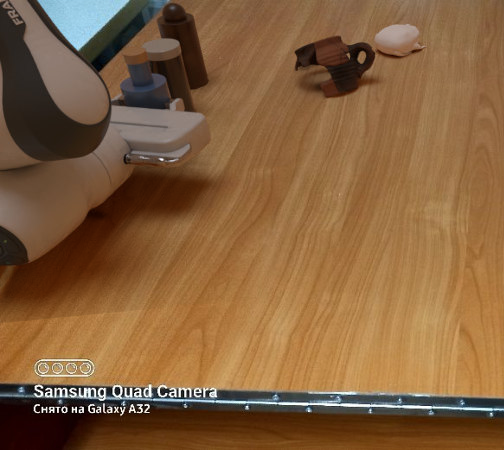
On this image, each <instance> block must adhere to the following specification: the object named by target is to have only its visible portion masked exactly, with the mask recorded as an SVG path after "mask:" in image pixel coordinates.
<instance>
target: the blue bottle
mask: <svg viewBox="0 0 504 450" xmlns="http://www.w3.org/2000/svg"><path fill="white" fill-rule="evenodd" d="M121 55H122V57H123V61H124V63H125V65H126V67H127V71H128V74H129V77H126V78H125V79H124V80H122V81H121V82H120V84H119V89H120V91H121V94H122V95H123V98H124V101H125V104H126V107H137V108H149V109H161V110H165V109H166V108H165V106H164V102H165V101H167V100H168V99H169V98H171V95H170V92H169V88H168V84H167V81H166V78H165V77H164V76H163V75H160V74H154V73H151V69H150V66H149V62H148V55H147V52H146V49H145V48H143V47H141V46H133V47H132V46H131V47H128V48H125V49H124V50H122V52H121Z"/></svg>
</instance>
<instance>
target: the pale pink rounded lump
mask: <svg viewBox="0 0 504 450" xmlns="http://www.w3.org/2000/svg"><path fill="white" fill-rule="evenodd" d="M420 37H421V32H420V31H419V29H418V27H417V26H416V25H411V24H410V23H406V24H391V25H388V26H385V27H384V28H382V29H381V30H379V32H377V33H376V34H375V36H374V40H373V41H374V47H375V48H376V49H377V50H378V51H380V52H381V53H384V54H385V55H393V56H397V57H405V56H408V55H412V52H413V51H414V50H423V49H425V48H426V47H427V45H420V44H419V40H420Z"/></svg>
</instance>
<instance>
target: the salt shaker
mask: <svg viewBox="0 0 504 450" xmlns="http://www.w3.org/2000/svg"><path fill="white" fill-rule="evenodd" d="M140 47H143V48H145V49H146V52H147V55H148V62H149V66H150V69H151V73H154V74H160V75H163V76H164V77H165V78H166V81H167V84H168V88H169V92H170V95H171V98H179V99H182V100H183V103H184V107H185V110H184V112H196V107H195V102H194V98H193V95H192V89H190V86H189V82H188V78H187V74H186V70H185V66H184V62H183V58H182V54H181V47H180V43H179V41H177V40H175V39H161V38H157V39H152V40H149V41H147V42H144V43H143V44H141V46H140ZM196 113H197V112H196Z"/></svg>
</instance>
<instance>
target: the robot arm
mask: <svg viewBox="0 0 504 450" xmlns="http://www.w3.org/2000/svg"><path fill="white" fill-rule="evenodd" d="M164 106H165V108H166V109H165V110H161V109H149V108H137V107H126V104H125V101H124V98H123V95H122V93H118V94H117V95H116V96H115V97H113V98H112V97H111V94H110V91H109V88H108V86H107V83H106V82H105V80H104V78H103V77H102V76H101V74H100V73H99V71H98V70H97V69H96V68H95V66H94V65H93V64H92V63H91V62H90V61H89V60H88V59H87V58H86V57H85V56H84V55H83V54H82V53H81V52H80V51H79V50H78V49H77V48H76V47H75V46H74V45H73V44H72V43H71V42H70V41H69V40H68V39H67V38H66V36H65V35H64V34H63V33H62V31H60V29H59V28H58V27H57V24H55V22H54V21H53V20H52V19H51V16H50V15H49V14H48V13H47V12H46V11H45V9H44V7H43V6H42V5H41V3H40V2H39V0H0V266H3V267H4V266H5V267H7V266H8V267H12V266H13V267H14V266H22V265H26V264H30V263H32V262H34V261H36V260H38V259H40V258H41V257H42V256H44V255H46V254H47V253H49V252H50V251H51V250H53V249H54V248H55V247H56V246H58V245H60V243H62V241H64V240H66V238H67V237H69V236H70V235H71V234H72V233H73V232H74V231H75V230H76V229H78V228H79V226H80V225H81V224H82V223H84V221H85V219H86V218H87V216H88V213H89V212H90V211H91V210H93V209H95V208H97V207H98V206H101V204H103V203H104V202H106V200H107V199H108V198H109V197H111V196H112V195H113V194H114V193H115V192H116V191H117V190H118V189H119V188H120V187H121V186H122V185H123V184H124V183H125V182H126V181H127V180H128V179H129V178H130V177H131V176H132V175H133V171H134V167H135V166H140V167H141V166H143V167H151V168H152V167H153V168H162V169H171V168H176V167H180V166H182V165H184V164H186V163H187V162H188V161H190V160H191V159H192V158H194V157H195V156H197V155H198V154H199V153H200V152H202V151H203V150H204V149H205V148H206V147H208V146H209V145H210V142H211V141H212V135H211V130H210V126H209V122H208V120H207V118H206V116H205V115H204V114H203V113H201V112H184V110H185V107H184V103H183V100H182V99H179V98H169V99H168V100H167V101H165V102H164Z"/></svg>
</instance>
